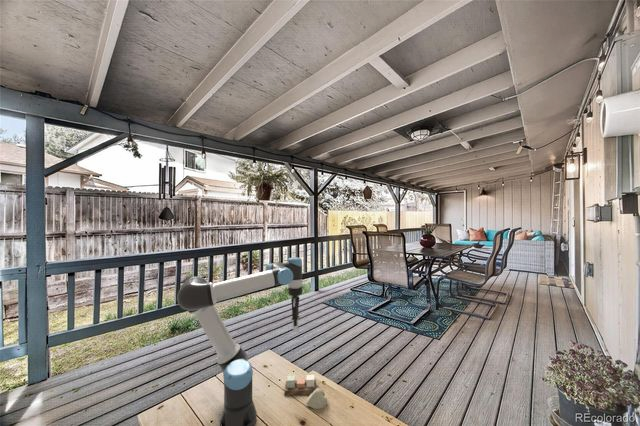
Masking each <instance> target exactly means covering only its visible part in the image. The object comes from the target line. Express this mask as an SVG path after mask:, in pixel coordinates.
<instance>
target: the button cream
mask: <svg viewBox="0 0 640 426" xmlns="http://www.w3.org/2000/svg"><path fill="white" fill-rule="evenodd" d="M305 380H306V381H307V386H306V388H315V386H314V380H315V374H306V379H305Z"/></svg>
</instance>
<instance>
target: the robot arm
mask: <svg viewBox="0 0 640 426" xmlns="http://www.w3.org/2000/svg"><path fill="white" fill-rule="evenodd" d="M303 283H304V280H303V261H302V258H300V257H296V256H295V257H294V256H293V257H289V258H288V259H287V261H286V262H276V263H275V262H272V263H267V264H266V265H265V271H260V272H257V273H252V274H249V275H245V276H241V277H237V278H236V277H235V278H232V279H228V280H224V281H221V282H216V283H213V282H211V281H210V282H208V281H207V280H206V279H205V278H203V277H201V276H192V277H190V278H187V279H186V280H185V281H184V282H183V283H182V285H180V289H179V290H178V293H177V297H176V300H177V304H178V305H179V306H180V308H181V309H182V310H185V311H188V313H189V314H191V315H195V318H196V319H197V321H198V322H199V325H200V326H201V328H202V329H203V330H202V331H204V334H205V335H206V337H207V339H208V341H209V342H210V345H211V346H212V347H213V349H214V351H215V353H216V354H217V359H216V360H217V361H216V362H217V364H218V365H219V368H220V370H221V372H222V375H223V410H222V412H221V416H220V417H219V426H255V424H256V423H257V409H256V406H255V402H254V401H253V375H254V374H253V373H254V370H253V365H252V364H251V362H250V361H249V359H248V354H247V352H246V351H245V350H244V349H243V348H242V346H241V345H240V343H235V341H234V339H233V337H232V335H231V333H230V332H229V330H228V328H227V326H226V325H225V322H224V321H223V318H222V317H221V315H220V313H219V311H218V310H217V308H216V306H215V305H216V303H217V302H221V301H225V300H227V299H231V298H235V297H239V296H243V295H246V294H249V293H253V292H256V291H259V290H261V291H262V290H263V289H264V290H265V289H267V288H268V289H269V288H271V287H274V286H278V285H282V286H287V288H288V289H287V290H288V295H289V296H291V300H290V301H291V314H292V315H291V316H292V317H291V320H292V332H293V333H294V332H295V333H296V332H299V319H300V315H299V313H300V312H299V306H300V305H299V304H300V296H301V295H302V294H303V287H302V286H303Z"/></svg>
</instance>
